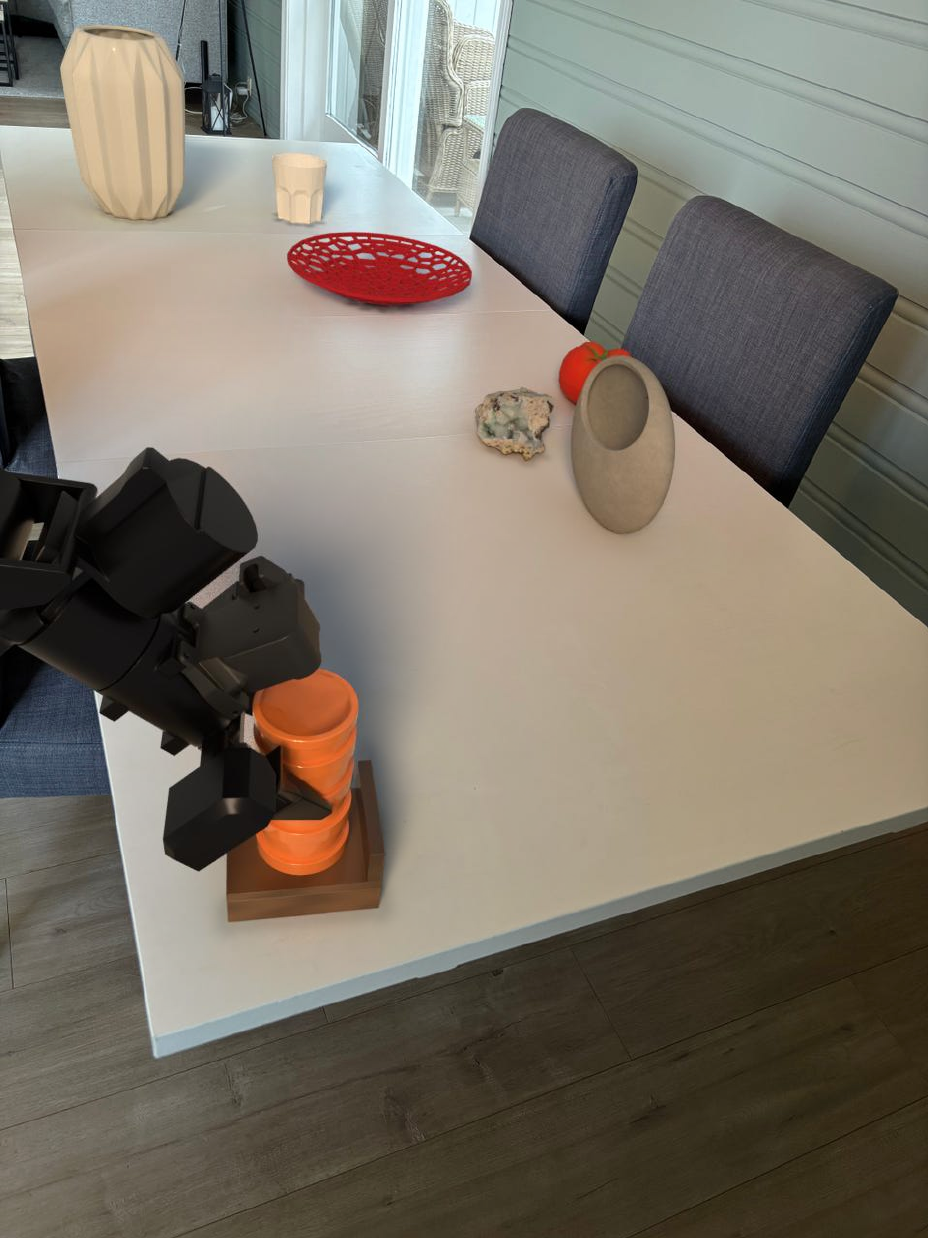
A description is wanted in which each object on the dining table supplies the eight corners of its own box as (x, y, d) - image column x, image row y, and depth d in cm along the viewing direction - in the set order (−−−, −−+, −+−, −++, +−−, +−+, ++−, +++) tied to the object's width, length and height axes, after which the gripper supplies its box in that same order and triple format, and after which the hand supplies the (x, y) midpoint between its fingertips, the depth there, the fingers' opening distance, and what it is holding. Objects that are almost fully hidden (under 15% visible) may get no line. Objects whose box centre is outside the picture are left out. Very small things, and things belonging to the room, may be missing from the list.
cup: (327, 226, 171) (329, 170, 165) (273, 223, 169) (273, 165, 162) (322, 210, 178) (324, 155, 172) (270, 206, 176) (270, 150, 170)
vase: (171, 234, 157) (156, 50, 140) (59, 216, 157) (31, 30, 140) (207, 204, 172) (198, 34, 155) (105, 187, 172) (85, 15, 155)
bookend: (228, 923, 60) (224, 867, 56) (228, 824, 66) (225, 768, 62) (378, 908, 62) (385, 854, 58) (366, 814, 68) (371, 759, 64)
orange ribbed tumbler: (239, 827, 62) (232, 690, 54) (316, 787, 66) (321, 653, 57) (287, 892, 59) (288, 757, 51) (366, 846, 62) (379, 713, 54)
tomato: (540, 400, 126) (550, 348, 121) (580, 377, 133) (591, 328, 129) (607, 428, 122) (620, 376, 117) (644, 403, 129) (658, 353, 124)
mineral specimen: (487, 481, 117) (549, 448, 120) (509, 470, 110) (576, 435, 112) (452, 412, 116) (516, 381, 119) (473, 396, 108) (540, 363, 111)
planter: (541, 478, 110) (572, 327, 98) (593, 474, 112) (629, 326, 100) (609, 570, 97) (654, 409, 85) (667, 563, 99) (718, 406, 87)
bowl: (251, 274, 148) (250, 242, 145) (395, 253, 165) (397, 224, 161) (358, 344, 132) (360, 310, 129) (505, 312, 149) (509, 282, 146)
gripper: (219, 690, 40) (441, 834, 49) (237, 466, 54) (407, 611, 63) (55, 811, 43) (291, 925, 52) (112, 572, 57) (290, 694, 66)
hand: (325, 773), depth 58 cm, fingers closed on orange ribbed tumbler, 6 cm apart
